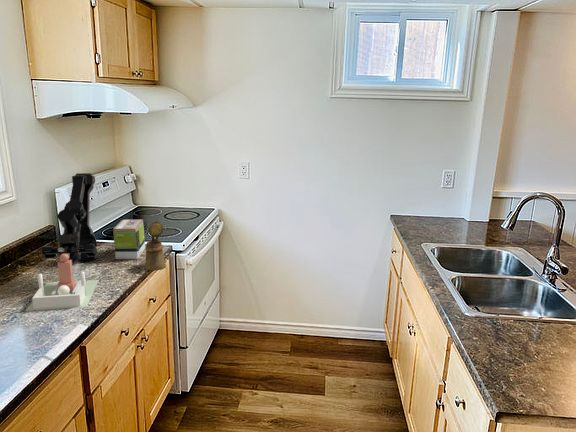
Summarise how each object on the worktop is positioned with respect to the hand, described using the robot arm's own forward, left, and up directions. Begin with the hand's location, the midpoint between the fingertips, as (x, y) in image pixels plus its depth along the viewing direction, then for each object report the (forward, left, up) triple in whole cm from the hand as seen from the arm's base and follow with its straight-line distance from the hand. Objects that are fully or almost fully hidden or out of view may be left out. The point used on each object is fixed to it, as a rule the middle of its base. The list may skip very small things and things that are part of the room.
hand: (67, 271), depth 162 cm
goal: (+8, +8, -7) cm, 13 cm away
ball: (+5, +5, -4) cm, 8 cm away
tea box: (-39, -11, -7) cm, 41 cm away
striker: (+1, +1, -6) cm, 7 cm away
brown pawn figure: (-35, +9, -7) cm, 37 cm away
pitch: (+4, +3, -7) cm, 9 cm away
